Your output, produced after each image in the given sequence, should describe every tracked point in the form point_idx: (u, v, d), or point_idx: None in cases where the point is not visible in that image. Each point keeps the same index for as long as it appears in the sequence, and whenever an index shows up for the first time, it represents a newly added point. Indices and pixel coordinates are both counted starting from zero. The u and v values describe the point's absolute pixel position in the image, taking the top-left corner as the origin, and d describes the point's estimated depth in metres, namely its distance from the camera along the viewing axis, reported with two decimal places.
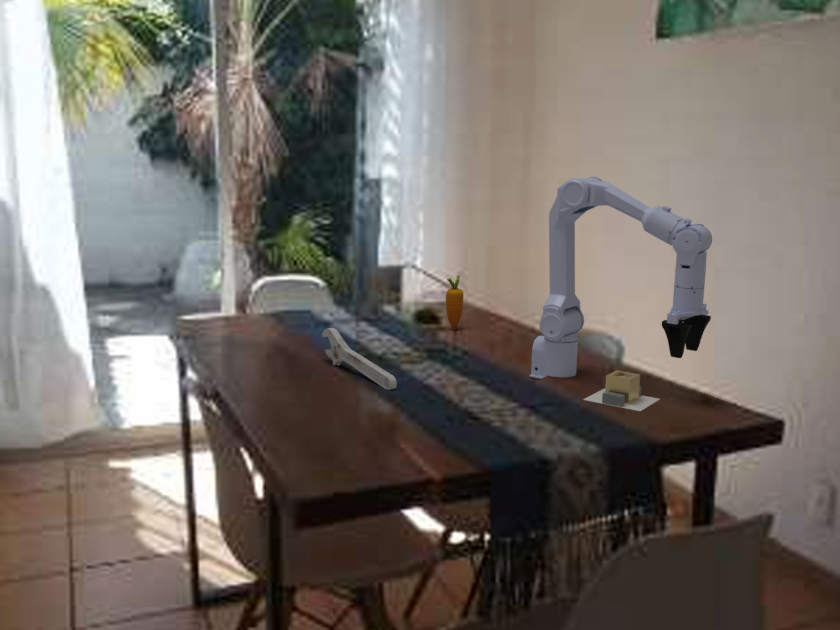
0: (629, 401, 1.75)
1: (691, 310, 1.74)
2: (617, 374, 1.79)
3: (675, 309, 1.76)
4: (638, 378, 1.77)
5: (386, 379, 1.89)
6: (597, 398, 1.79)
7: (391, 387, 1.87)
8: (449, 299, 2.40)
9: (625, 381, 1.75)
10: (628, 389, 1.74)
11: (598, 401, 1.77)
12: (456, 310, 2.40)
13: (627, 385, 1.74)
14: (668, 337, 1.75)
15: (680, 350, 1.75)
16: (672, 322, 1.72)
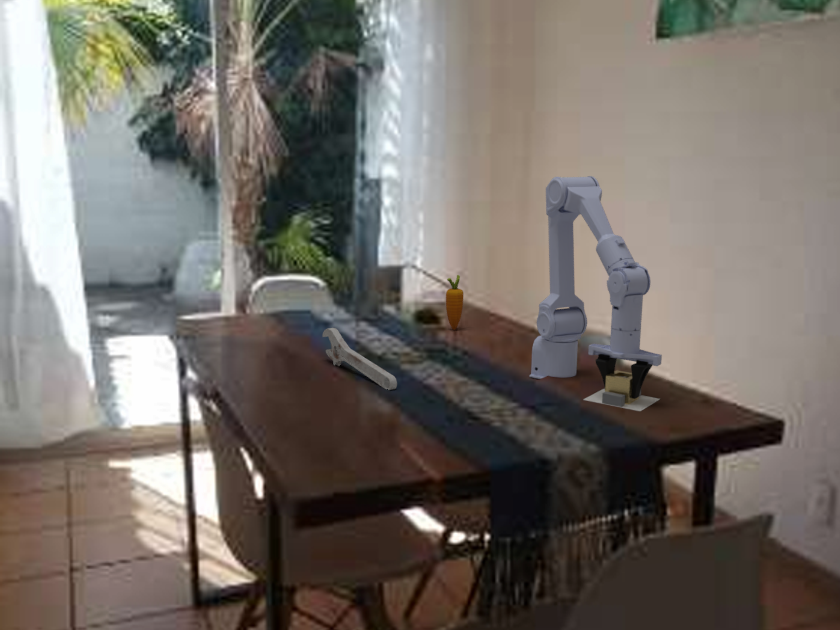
0: (629, 401, 1.75)
1: (610, 348, 1.76)
2: (617, 374, 1.79)
3: None
4: None
5: (386, 379, 1.89)
6: (597, 398, 1.79)
7: (391, 387, 1.87)
8: (449, 299, 2.40)
9: (625, 381, 1.75)
10: (628, 389, 1.74)
11: (598, 401, 1.77)
12: (456, 310, 2.40)
13: (627, 385, 1.74)
14: None
15: None
16: None
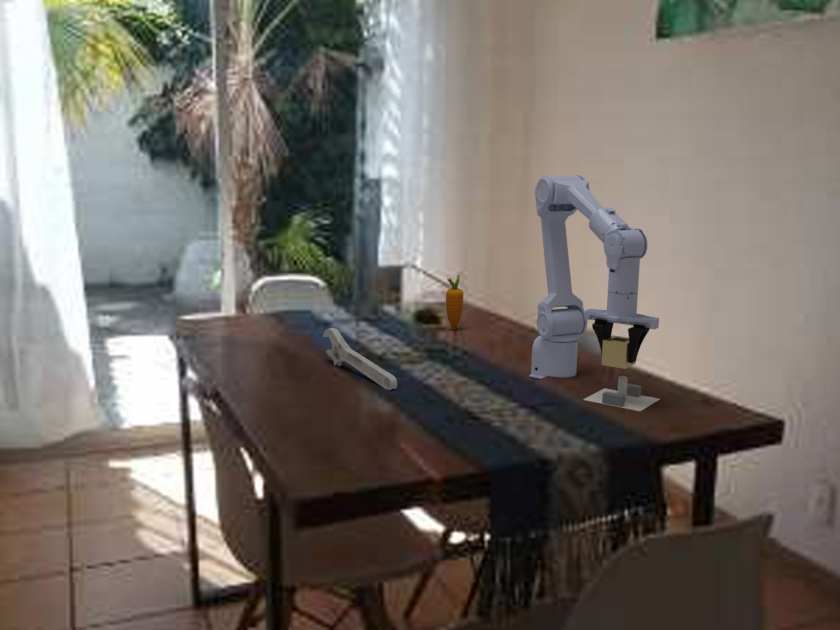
0: (626, 365, 1.73)
1: (606, 312, 1.74)
2: (614, 339, 1.77)
3: None
4: None
5: (387, 379, 1.89)
6: (597, 398, 1.79)
7: (392, 387, 1.87)
8: (449, 299, 2.40)
9: (622, 345, 1.73)
10: (625, 353, 1.73)
11: (598, 401, 1.77)
12: (456, 310, 2.40)
13: (625, 349, 1.73)
14: None
15: None
16: None
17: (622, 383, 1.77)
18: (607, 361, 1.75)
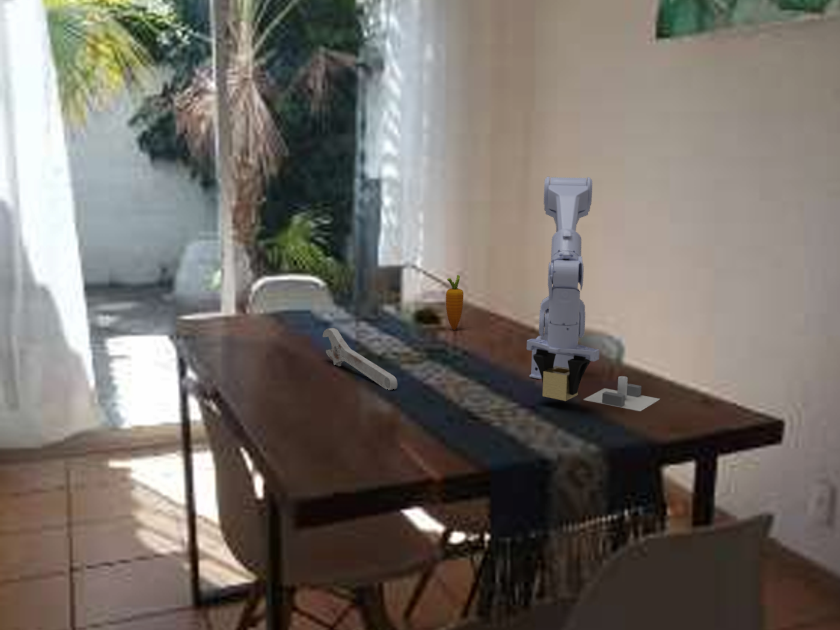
0: (567, 397, 1.71)
1: (547, 343, 1.72)
2: (556, 370, 1.74)
3: None
4: None
5: (387, 379, 1.89)
6: (597, 398, 1.79)
7: (392, 387, 1.87)
8: (449, 299, 2.40)
9: (562, 377, 1.70)
10: (565, 385, 1.70)
11: (598, 401, 1.77)
12: (456, 310, 2.40)
13: (565, 381, 1.70)
14: None
15: None
16: None
17: (622, 383, 1.77)
18: (548, 392, 1.72)
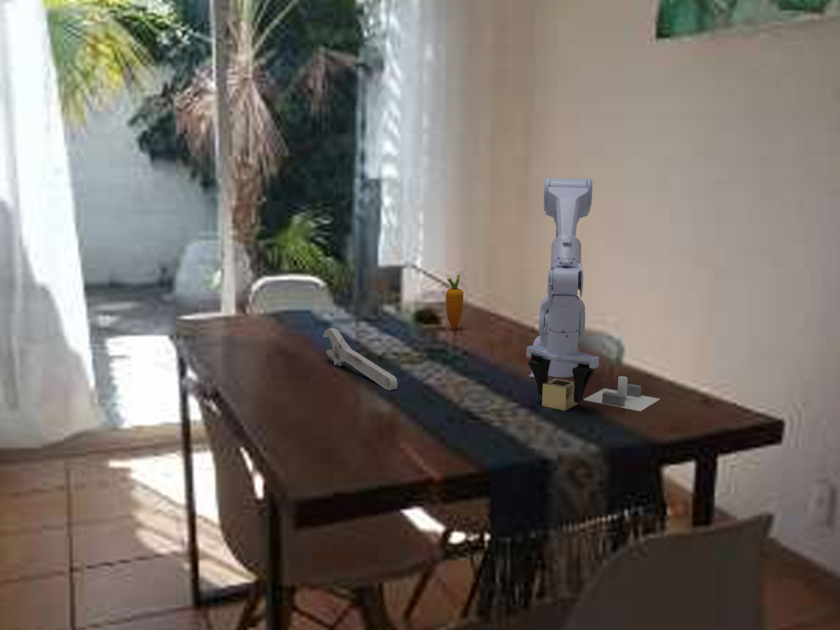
0: None
1: (547, 350, 1.72)
2: (555, 382, 1.75)
3: None
4: None
5: (387, 379, 1.89)
6: (597, 398, 1.79)
7: (392, 387, 1.87)
8: (449, 299, 2.40)
9: (561, 389, 1.71)
10: (564, 398, 1.70)
11: (598, 401, 1.77)
12: (456, 310, 2.40)
13: (564, 393, 1.70)
14: None
15: None
16: None
17: (622, 383, 1.77)
18: (547, 405, 1.73)
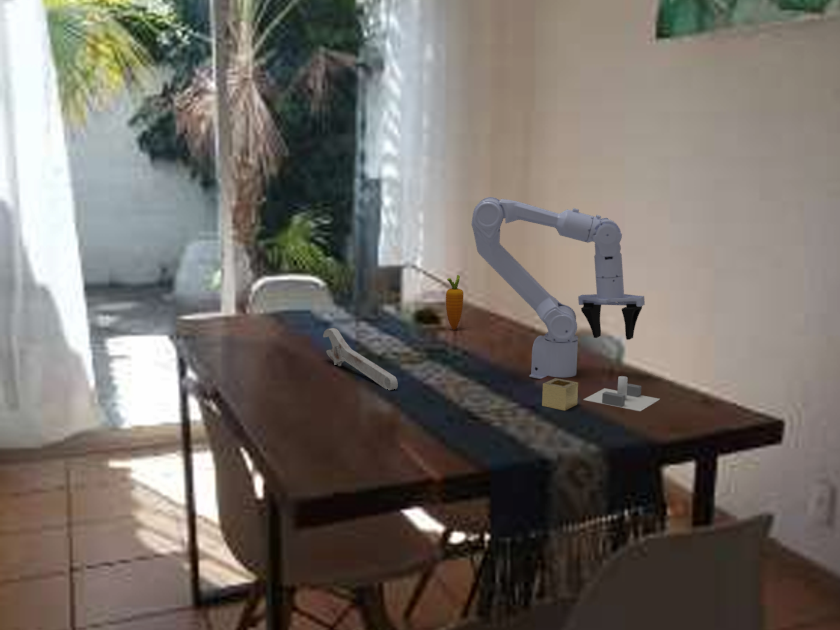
0: None
1: (597, 296, 1.92)
2: (555, 382, 1.75)
3: None
4: (575, 386, 1.73)
5: (387, 379, 1.88)
6: (597, 398, 1.79)
7: (392, 387, 1.87)
8: (449, 299, 2.40)
9: (561, 389, 1.71)
10: (564, 398, 1.70)
11: (598, 401, 1.77)
12: (456, 310, 2.40)
13: (564, 393, 1.70)
14: None
15: None
16: None
17: (622, 383, 1.77)
18: (547, 405, 1.73)
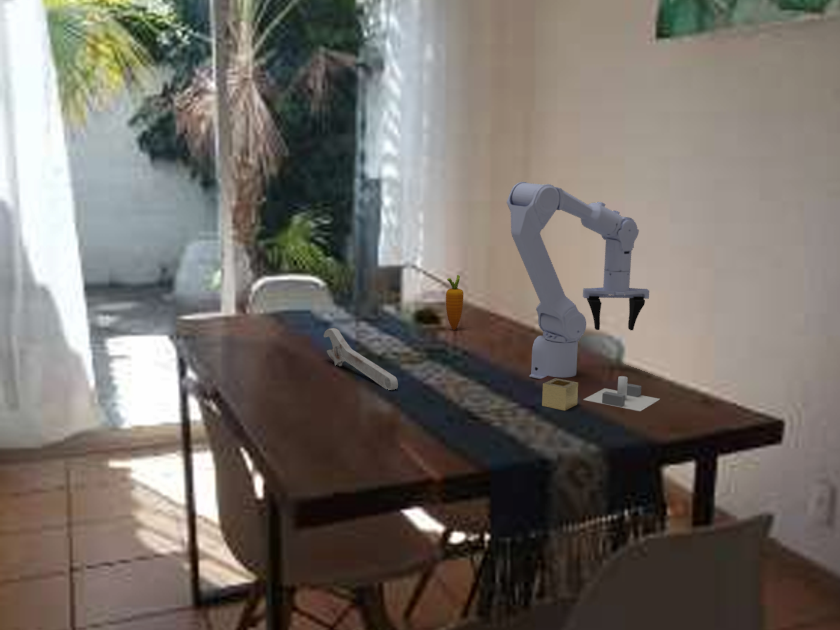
0: None
1: (607, 289, 1.99)
2: (555, 382, 1.75)
3: (603, 288, 2.03)
4: (575, 386, 1.73)
5: (387, 380, 1.88)
6: (597, 398, 1.79)
7: (392, 388, 1.86)
8: (449, 299, 2.40)
9: (561, 389, 1.71)
10: (564, 398, 1.70)
11: (598, 401, 1.77)
12: (456, 310, 2.40)
13: (564, 393, 1.70)
14: (591, 310, 2.04)
15: (595, 323, 2.02)
16: (583, 296, 2.01)
17: (622, 383, 1.77)
18: (547, 405, 1.73)
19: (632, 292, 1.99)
